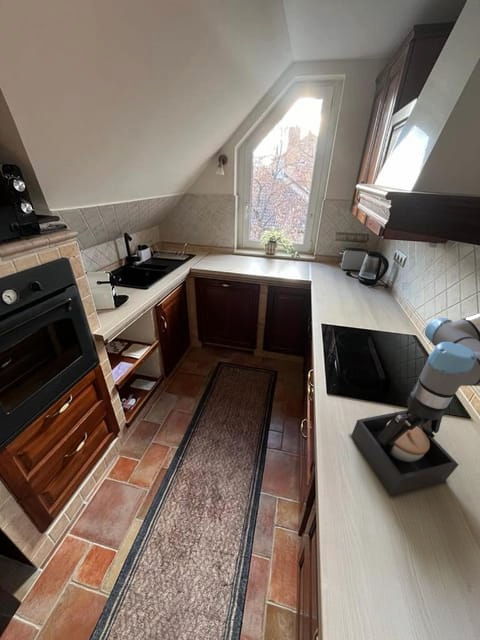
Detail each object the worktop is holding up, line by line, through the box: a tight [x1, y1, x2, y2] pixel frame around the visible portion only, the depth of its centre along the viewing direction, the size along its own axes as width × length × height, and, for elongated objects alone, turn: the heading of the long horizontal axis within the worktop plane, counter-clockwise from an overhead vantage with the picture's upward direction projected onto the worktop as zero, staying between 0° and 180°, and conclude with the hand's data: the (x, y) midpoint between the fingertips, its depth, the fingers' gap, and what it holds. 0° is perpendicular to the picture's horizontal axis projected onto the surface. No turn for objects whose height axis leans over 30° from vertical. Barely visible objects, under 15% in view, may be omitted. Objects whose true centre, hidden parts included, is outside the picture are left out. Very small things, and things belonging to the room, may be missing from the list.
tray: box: [350, 409, 459, 496], centre depth 75 cm, size 18×18×8 cm
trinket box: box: [386, 421, 430, 462], centre depth 73 cm, size 11×11×9 cm
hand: (398, 450), depth 75 cm, fingers closed on trinket box, 11 cm apart
